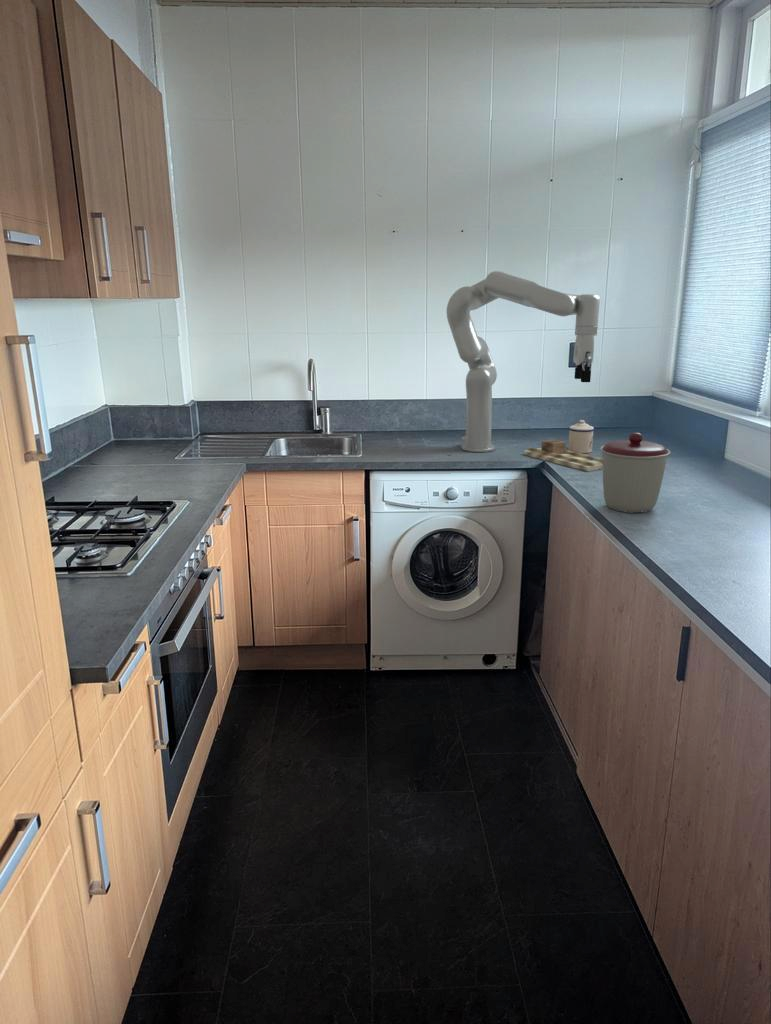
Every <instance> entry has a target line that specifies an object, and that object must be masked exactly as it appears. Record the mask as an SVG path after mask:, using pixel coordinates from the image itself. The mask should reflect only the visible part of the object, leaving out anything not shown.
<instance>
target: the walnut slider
mask: <svg viewBox="0 0 771 1024" xmlns="http://www.w3.org/2000/svg"><path fill="white" fill-rule="evenodd" d="M566 444H567V442H566V441H563V440H559V439H547V440H541V447H540V448H541V450H543V451H547V452H551V453H555V454H561V453H565V450H567V449H566V446H567V445H566Z"/></svg>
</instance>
